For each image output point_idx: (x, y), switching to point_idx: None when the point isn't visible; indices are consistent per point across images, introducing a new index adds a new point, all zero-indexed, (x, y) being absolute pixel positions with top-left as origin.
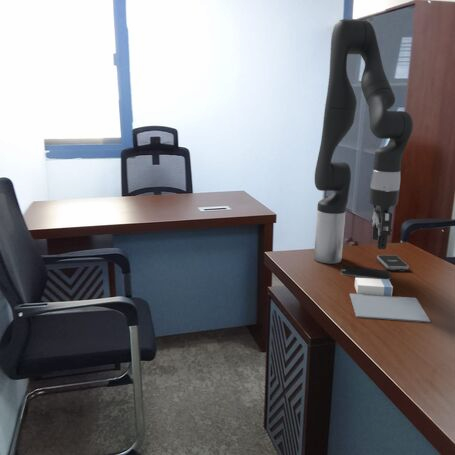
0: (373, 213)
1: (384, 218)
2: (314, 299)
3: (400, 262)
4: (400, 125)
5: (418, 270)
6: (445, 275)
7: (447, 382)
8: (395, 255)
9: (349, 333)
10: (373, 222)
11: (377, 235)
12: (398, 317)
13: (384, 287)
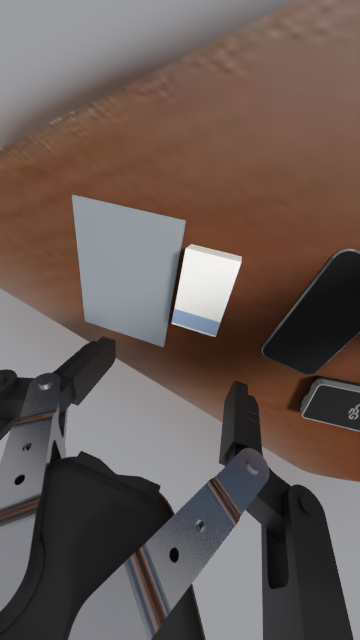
0: (131, 590)
1: None
2: (155, 78)
3: (334, 417)
4: None
5: (296, 422)
6: None
7: None
8: None
9: (7, 153)
10: (239, 478)
11: (227, 409)
12: (84, 280)
13: (175, 308)
